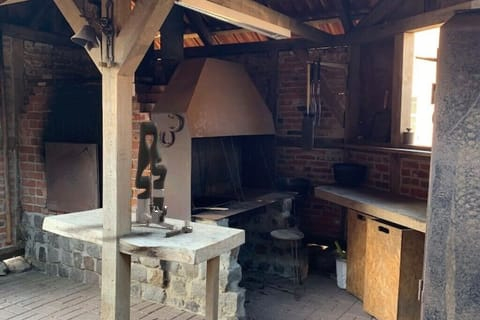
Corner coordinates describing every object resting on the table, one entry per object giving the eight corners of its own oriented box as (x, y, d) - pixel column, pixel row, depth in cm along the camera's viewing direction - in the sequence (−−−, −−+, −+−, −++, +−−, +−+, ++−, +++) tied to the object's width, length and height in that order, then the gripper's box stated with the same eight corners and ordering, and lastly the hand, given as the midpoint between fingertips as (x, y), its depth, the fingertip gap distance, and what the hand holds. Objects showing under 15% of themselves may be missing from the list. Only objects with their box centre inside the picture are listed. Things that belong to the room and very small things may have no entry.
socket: (151, 222, 287) (151, 212, 287) (157, 220, 292) (158, 211, 292) (157, 223, 284) (158, 213, 284) (164, 222, 289) (164, 212, 288)
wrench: (175, 234, 296) (139, 224, 308) (177, 233, 298) (141, 223, 310) (177, 222, 295) (140, 212, 307) (178, 222, 297) (142, 212, 309)
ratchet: (163, 236, 278) (163, 224, 277) (186, 230, 296) (186, 218, 295) (171, 237, 274) (171, 225, 273) (194, 231, 292) (194, 220, 291)
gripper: (146, 194, 287) (145, 220, 289) (162, 197, 280) (162, 223, 281) (154, 193, 294) (154, 218, 295) (170, 196, 286) (170, 221, 287)
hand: (157, 220), depth 288 cm, fingers closed on socket, 6 cm apart
